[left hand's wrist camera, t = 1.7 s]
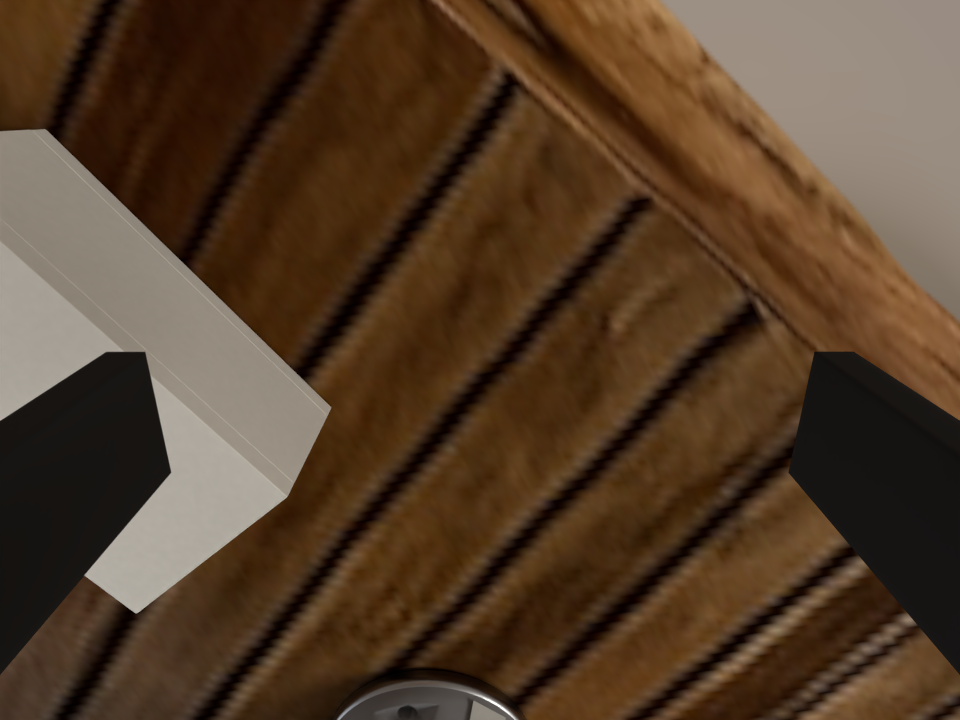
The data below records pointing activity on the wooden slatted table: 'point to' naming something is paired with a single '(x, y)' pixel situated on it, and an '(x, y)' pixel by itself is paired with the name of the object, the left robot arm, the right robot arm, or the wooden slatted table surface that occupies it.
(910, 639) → the wooden slatted table surface
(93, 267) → the cabinet
